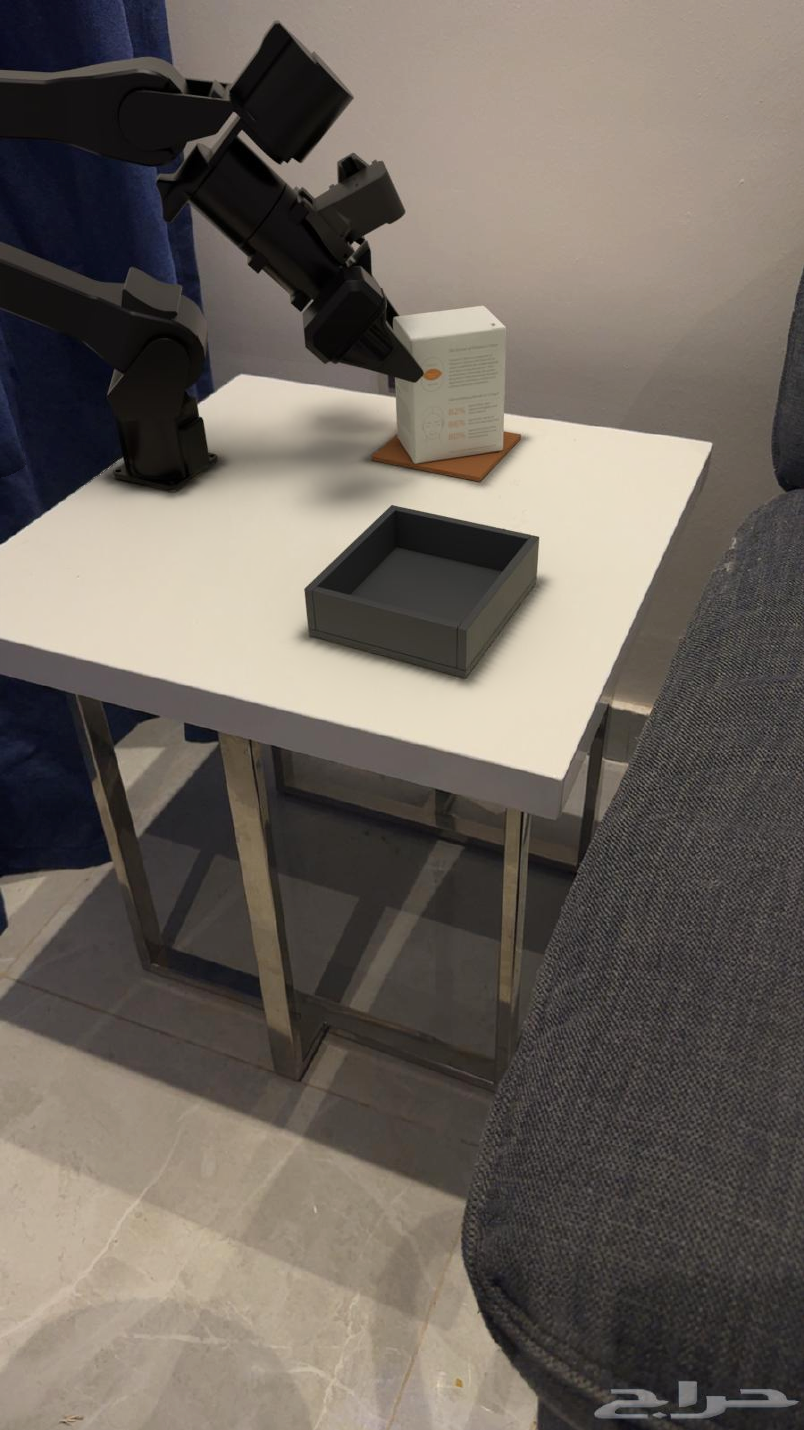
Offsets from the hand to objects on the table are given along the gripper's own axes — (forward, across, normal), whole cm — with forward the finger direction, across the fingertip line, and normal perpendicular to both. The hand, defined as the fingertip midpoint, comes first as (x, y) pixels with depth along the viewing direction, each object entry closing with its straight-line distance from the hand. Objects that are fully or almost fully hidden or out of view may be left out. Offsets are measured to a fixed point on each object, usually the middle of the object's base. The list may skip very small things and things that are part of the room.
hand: (412, 356), depth 83 cm
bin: (+4, -24, +7) cm, 26 cm away
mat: (+8, 0, +4) cm, 9 cm away
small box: (+8, 0, +4) cm, 9 cm away
